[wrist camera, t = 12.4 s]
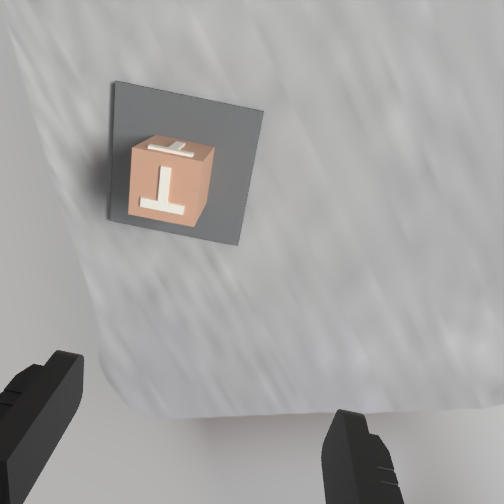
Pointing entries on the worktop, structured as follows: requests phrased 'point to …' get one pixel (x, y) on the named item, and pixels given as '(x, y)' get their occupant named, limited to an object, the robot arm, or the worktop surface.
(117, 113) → the charcoal mat
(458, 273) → the worktop surface
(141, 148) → the lettered block
